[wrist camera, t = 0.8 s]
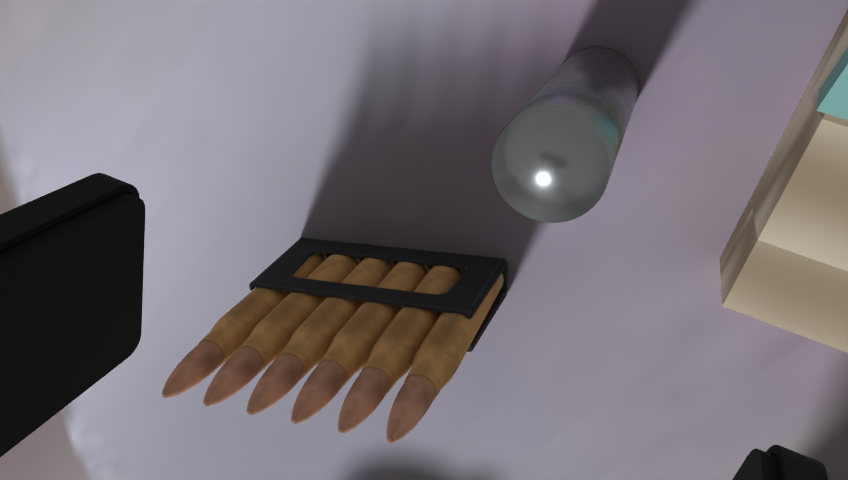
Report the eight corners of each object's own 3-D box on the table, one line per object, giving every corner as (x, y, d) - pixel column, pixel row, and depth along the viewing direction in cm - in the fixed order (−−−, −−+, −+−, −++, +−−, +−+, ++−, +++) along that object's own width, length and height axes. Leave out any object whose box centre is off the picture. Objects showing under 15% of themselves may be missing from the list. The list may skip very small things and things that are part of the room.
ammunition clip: (507, 258, 32) (415, 422, 22) (507, 294, 33) (418, 469, 23) (299, 237, 36) (136, 370, 25) (304, 270, 36) (147, 412, 26)
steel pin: (620, 138, 28) (585, 238, 20) (544, 113, 29) (478, 199, 20) (651, 60, 26) (627, 132, 18) (570, 35, 27) (510, 93, 19)
